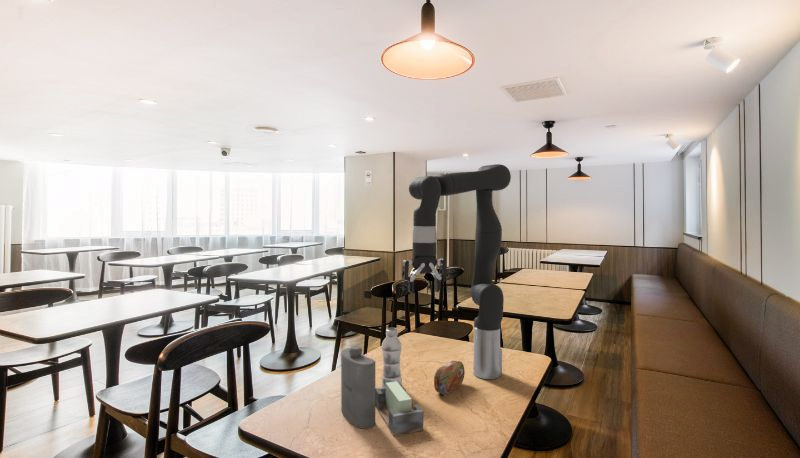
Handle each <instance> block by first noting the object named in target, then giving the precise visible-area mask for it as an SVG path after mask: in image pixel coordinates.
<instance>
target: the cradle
mask: <svg viewBox="0 0 800 458" xmlns="http://www.w3.org/2000/svg"><path fill="white" fill-rule="evenodd" d="M399 385H400V386H401V387H402V388H403V389H404V391H405V392H406V393H407V391H406V388H405V387H404V386H403V384H402V385H401V384H399ZM375 409H377V412H378V413H379V415H380V416H381V418H382V420H383V422H384V423H385V425H386V427H387V429H388V430H389V432H390V433H391V434H392V437H397V436H401V435H405V434H411V433H412V434H413V433H418V432H423V431H424V410H423V409H422V408H421V407H420V404H413V410H411V411H408V412H402V413H397V414H396V412H395V411H394V409H389V411H388V409H387V408H386V387H383V386H380V387H375Z"/></svg>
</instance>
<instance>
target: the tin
mask: <svg viewBox="0 0 800 458" xmlns="http://www.w3.org/2000/svg"><path fill="white" fill-rule="evenodd" d="M433 376H434V377H433V386H434V390H435V392H436V393H438V394H440V395H443V396H446V395H448V394H450V393H452V392H453V391H454V390H456V389H458V388H460V387H461V385H462V383H463V381H464V379H465V365H464V364H463V362H462V361H460V360H459V361H458V360H451V361H449V362H448V363H446V364H444V365H442V366H440V367H439V368H437V370H436V372H435V374H434V375H433Z"/></svg>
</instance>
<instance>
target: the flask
mask: <svg viewBox="0 0 800 458" xmlns="http://www.w3.org/2000/svg"><path fill="white" fill-rule="evenodd" d="M362 353H363V348H362V347H361V346H358V345H354V346H351V347H349V348H348V347H347V348H344V349H342V350H341V353H340V357H341V358H340V359H341V360H340V362H341V363H340V364H341V366H340V369H341V371H340V374H341V375H340V378H341V381H340V382H341V383H340V387H341V388H340V392H341V394H340V396H341V397H340V398H341V399H340V400H341V401H340V403H341V407H340V408H341V409H340V410H341V413H342V415H343V416H344V418H345V419H346V420H347V421H348V422H349V423H351V424H352V425H354V426H355V427H357V428H359V429H362V430H370V429H371V428H373V427H375V426H376V406H375V388H376V361H375V360H374V359H373V358H370V357H368V356H366V355H364V354H362Z"/></svg>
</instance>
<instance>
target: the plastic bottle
mask: <svg viewBox="0 0 800 458" xmlns="http://www.w3.org/2000/svg"><path fill="white" fill-rule="evenodd" d="M398 330H399V329H398V328H397V327H387V328H386V329H385V335H386V336H385V338H384V339H383V341H382V343H381V351H382V358H383V359H382V360H383V371H382V378H381V385H382V386H381V387H386V383H388V382H394V381H397V382H398V383H399V384H401V385H402V386H403V378H402V371H401V353H402V342H401V340H400V339H399V337H398V335H399V333H398Z"/></svg>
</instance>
